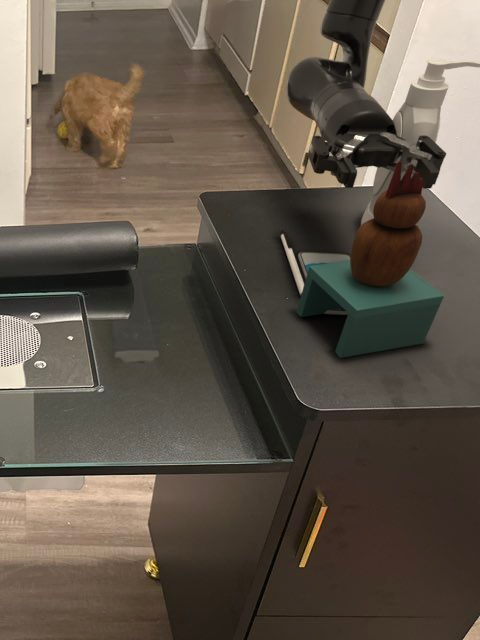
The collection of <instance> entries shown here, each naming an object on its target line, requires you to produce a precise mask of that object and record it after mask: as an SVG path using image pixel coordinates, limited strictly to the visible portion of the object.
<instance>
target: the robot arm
mask: <svg viewBox="0 0 480 640" xmlns="http://www.w3.org/2000/svg"><path fill="white" fill-rule="evenodd" d="M385 2H386V0H329V2H328V5H327V7H326V11H325V13H324V16H323V19H322V22H321V25H320V29H319V30H320V31H319V32H320V34H321V36H322V37H323V38H324V39H326V40H328V41H331V42H333V43H335V44H337V45H339V46H340V47H341V49H342V52H343V53H342V54H343V60H342V61H340V60H335V59H329V58H325V57H321V56H320V57H319V56H309V57H305V58H303V59H302V60H300V61H298V62H297V63H296V64H295V65H294V66H293V68H292V69H291V70H290V72H289V74H288V77H287V79H286V84H285V92H286V98H287V100H288V102H289V104H290V105H291V106H292V107H293V109H295V110H296V111H297V112H299V113H300V114H302V115H303V116H305V117H306V118H308V119H310V120H312V121H314V123H315V125H316V126H317V128H318V130H319V134H320V135H313V136H312V138H311V143H310V146H309V150H308V155H307V158H308V160H309V162H310V164H311V167H312V170H313V173H315V174H317V175H322V174H325V172H330V175H331V176H333V177H335V178H336V179H337V180H336V181H337V182H338V183H339V184H341V185H343V186H344V189H352V188H354V186H355V182H356V179H357V176H358V169H360V168H368V167H375V168H376V169H377V168H380V167H383V168H385V169H388V170H391V171H393V172H394V171H395V168H396V166H397V163H394V162H395V161H396V160H397V159H398V158H399V157H400V156H401V159H400V161H401V173H402V172H406V171H407V169H408V167H409V165H410V164H411V160H417V161H418V162H417V165H416V167H415V166H413V170H412V174H413V175H414V173H415V172H417V173H419V175H418V179H419V178H422V179H423V187H422V189H425V190H427V189H429V190H430V189H432V188H433V185H434V186H435V185H436V183H437V180H438V178H439V175H440V171H441V168H442V165H443V163H444V160H445V158H446V157H447V152H446V151H445V150H444V149H443V148H441V147H440V145H438V143H437V142H436V143H435V142H434V141H433V140H432V139H431V138H430V137H428V136H426V135H422V136H419V138H418V141H417V142H407V141H405V139H403V138H401V137H399V136H397V133H396V128H395V125H394V122H393V119H392V118H391V117H390V115H389V114H388V113H387V112H386V111H385V109H384V108H383V107H382V105H381V104H380V103H379V102H378V100H377V99H375V97H373V96H372V95H370V94H369V93H368V92H367V91H366V89H365V86H366V81H367V80H366V79H367V71H368V60H369V55H370V49H371V43H372V39H373V35H374V31H375V28H376V25H377V23H378V22H377V21H378V20H379V18H380V15H381V12H382V10H383V7H384V5H385ZM330 154H331V155H330Z"/></svg>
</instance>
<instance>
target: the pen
mask: <svg viewBox="0 0 480 640" xmlns="http://www.w3.org/2000/svg"><path fill="white" fill-rule="evenodd" d="M280 233H281V234H280V239H281V242H282V245H283V248H284V251H285V254H286V256H287V260H288V263H289V266H290V270H291V272H292V275H293V278H294V281H295V285H296V287H297V290H298V292H299V296H300V297H301V294H302V291H303V287H304V284H305V281H304V279H303V276H302V273H301V271H300V268H299V266H298V263H297V259H296V257H295V254H294V250H293V248H292V244H291V242H290V239H289V236H288V234H287V233H288V232H287V231H284V230H283V229H282V230H280Z"/></svg>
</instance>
